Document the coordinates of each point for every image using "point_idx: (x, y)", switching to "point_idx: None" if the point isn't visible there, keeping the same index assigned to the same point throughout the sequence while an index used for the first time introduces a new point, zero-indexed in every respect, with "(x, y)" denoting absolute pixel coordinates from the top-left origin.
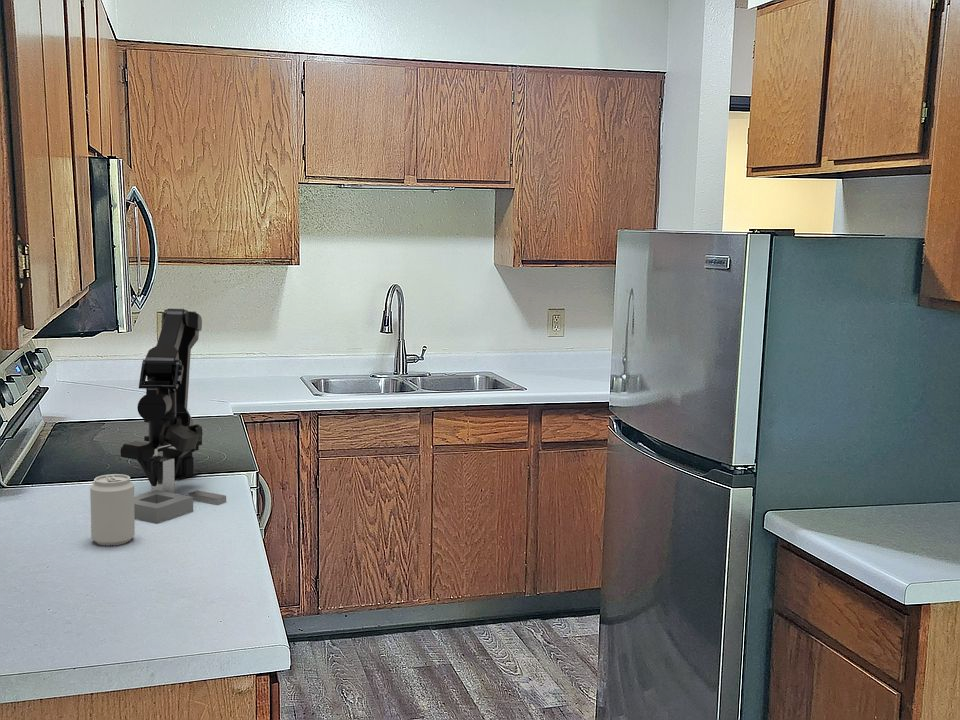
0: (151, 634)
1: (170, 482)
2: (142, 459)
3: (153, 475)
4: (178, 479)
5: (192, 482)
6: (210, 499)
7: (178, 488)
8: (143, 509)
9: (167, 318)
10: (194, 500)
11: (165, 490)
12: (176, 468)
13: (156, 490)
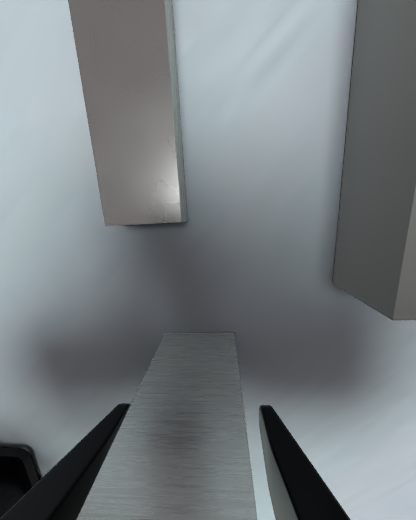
0: None
1: (175, 383)
2: None
3: (335, 504)
4: (25, 450)
5: (4, 395)
6: (168, 15)
7: (95, 379)
8: None
9: None
10: (183, 177)
11: (220, 353)
12: (46, 497)
13: (404, 309)
